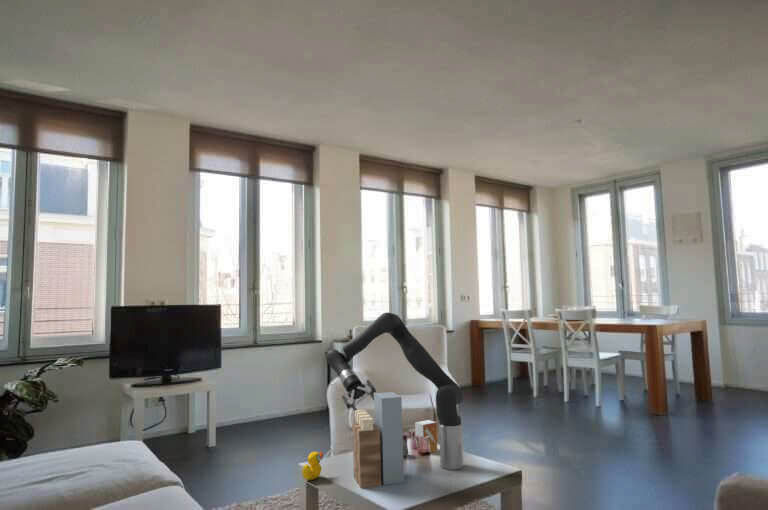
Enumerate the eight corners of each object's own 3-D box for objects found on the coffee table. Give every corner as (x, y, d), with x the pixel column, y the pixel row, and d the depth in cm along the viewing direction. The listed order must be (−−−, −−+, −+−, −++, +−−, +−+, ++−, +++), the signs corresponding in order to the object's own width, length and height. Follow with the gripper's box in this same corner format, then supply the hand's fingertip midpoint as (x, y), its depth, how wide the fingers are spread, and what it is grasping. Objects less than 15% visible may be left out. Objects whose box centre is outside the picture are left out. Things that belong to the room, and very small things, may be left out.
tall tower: (375, 474, 200) (373, 393, 203) (394, 472, 202) (392, 391, 205) (383, 485, 188) (381, 398, 192) (403, 482, 191) (401, 396, 194)
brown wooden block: (353, 477, 198) (352, 424, 200) (373, 475, 200) (372, 422, 202) (360, 488, 186) (359, 431, 188) (381, 485, 188) (379, 429, 190)
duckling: (316, 473, 204) (316, 448, 205) (327, 475, 201) (327, 449, 202) (298, 482, 194) (298, 455, 195) (309, 484, 192) (309, 457, 193)
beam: (355, 420, 208) (355, 410, 209) (364, 419, 209) (364, 409, 209) (362, 430, 187) (362, 419, 187) (373, 430, 188) (372, 419, 188)
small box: (424, 454, 226) (423, 424, 227) (415, 451, 231) (414, 422, 232) (437, 451, 230) (436, 422, 232) (429, 447, 236) (428, 419, 237)
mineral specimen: (390, 451, 230) (393, 433, 230) (408, 456, 227) (411, 438, 227) (385, 455, 223) (389, 437, 223) (403, 460, 220) (407, 442, 220)
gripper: (333, 384, 219) (348, 409, 207) (361, 367, 223) (377, 391, 210) (339, 394, 224) (354, 419, 211) (366, 377, 227) (382, 401, 215)
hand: (365, 405), depth 211 cm, fingers open, 8 cm apart
